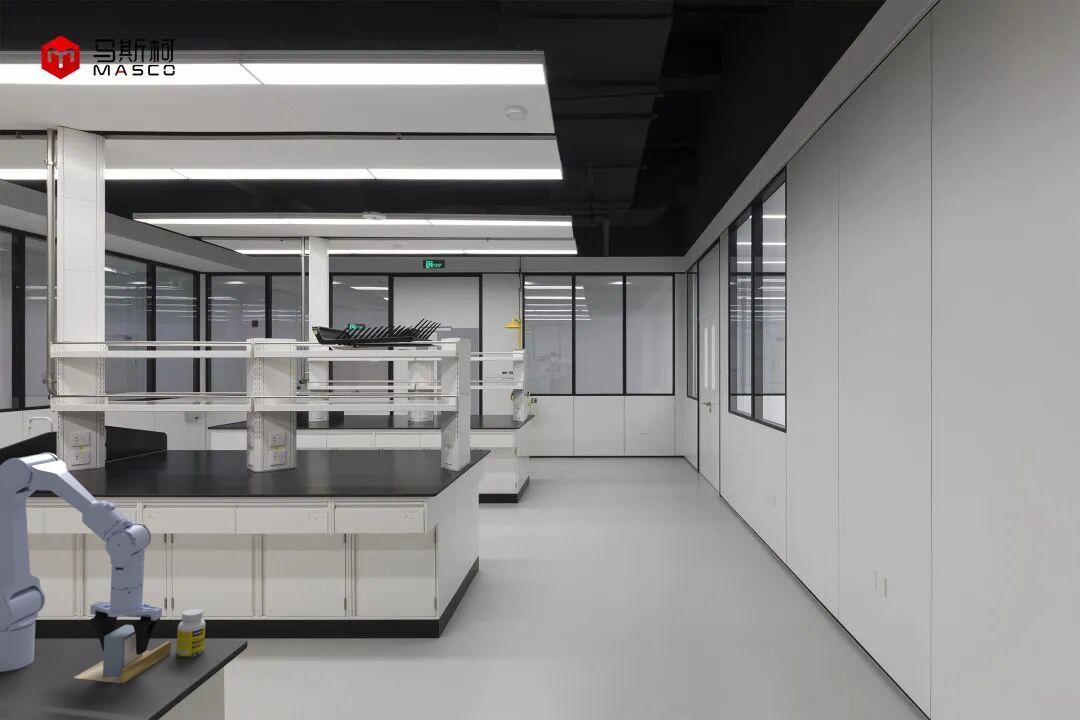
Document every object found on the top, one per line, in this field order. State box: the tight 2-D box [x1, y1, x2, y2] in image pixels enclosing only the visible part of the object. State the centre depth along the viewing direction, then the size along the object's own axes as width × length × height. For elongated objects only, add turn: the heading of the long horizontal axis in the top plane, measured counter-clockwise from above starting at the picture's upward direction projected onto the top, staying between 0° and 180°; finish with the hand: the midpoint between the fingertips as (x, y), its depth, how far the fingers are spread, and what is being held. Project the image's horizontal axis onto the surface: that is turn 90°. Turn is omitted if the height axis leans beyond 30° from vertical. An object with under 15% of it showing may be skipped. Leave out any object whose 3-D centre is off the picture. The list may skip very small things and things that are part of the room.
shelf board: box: [73, 640, 172, 684], centre depth 141 cm, size 11×14×3 cm
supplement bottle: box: [175, 608, 206, 659], centre depth 148 cm, size 5×5×10 cm
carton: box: [102, 624, 142, 677], centre depth 139 cm, size 4×6×8 cm
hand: (124, 650), depth 139 cm, fingers open, 7 cm apart
